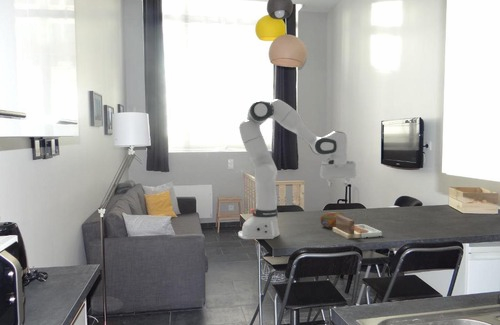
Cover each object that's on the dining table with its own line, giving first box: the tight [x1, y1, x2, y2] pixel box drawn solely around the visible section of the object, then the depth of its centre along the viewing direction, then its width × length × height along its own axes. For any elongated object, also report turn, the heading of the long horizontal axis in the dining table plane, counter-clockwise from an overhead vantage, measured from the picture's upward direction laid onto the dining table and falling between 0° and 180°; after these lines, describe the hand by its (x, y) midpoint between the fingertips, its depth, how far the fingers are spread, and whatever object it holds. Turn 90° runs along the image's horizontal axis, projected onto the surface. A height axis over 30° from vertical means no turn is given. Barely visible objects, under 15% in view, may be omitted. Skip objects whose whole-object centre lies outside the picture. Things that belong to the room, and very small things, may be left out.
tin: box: [319, 211, 346, 228], centre depth 211 cm, size 15×3×8 cm, turn 101°
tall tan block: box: [336, 215, 355, 234], centre depth 192 cm, size 3×14×7 cm, turn 14°
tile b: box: [355, 226, 369, 233], centre depth 190 cm, size 5×5×2 cm
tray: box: [354, 223, 383, 239], centre depth 195 cm, size 12×18×2 cm, turn 14°
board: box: [332, 227, 362, 240], centre depth 193 cm, size 8×16×2 cm, turn 14°
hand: (337, 186), depth 196 cm, fingers open, 8 cm apart
